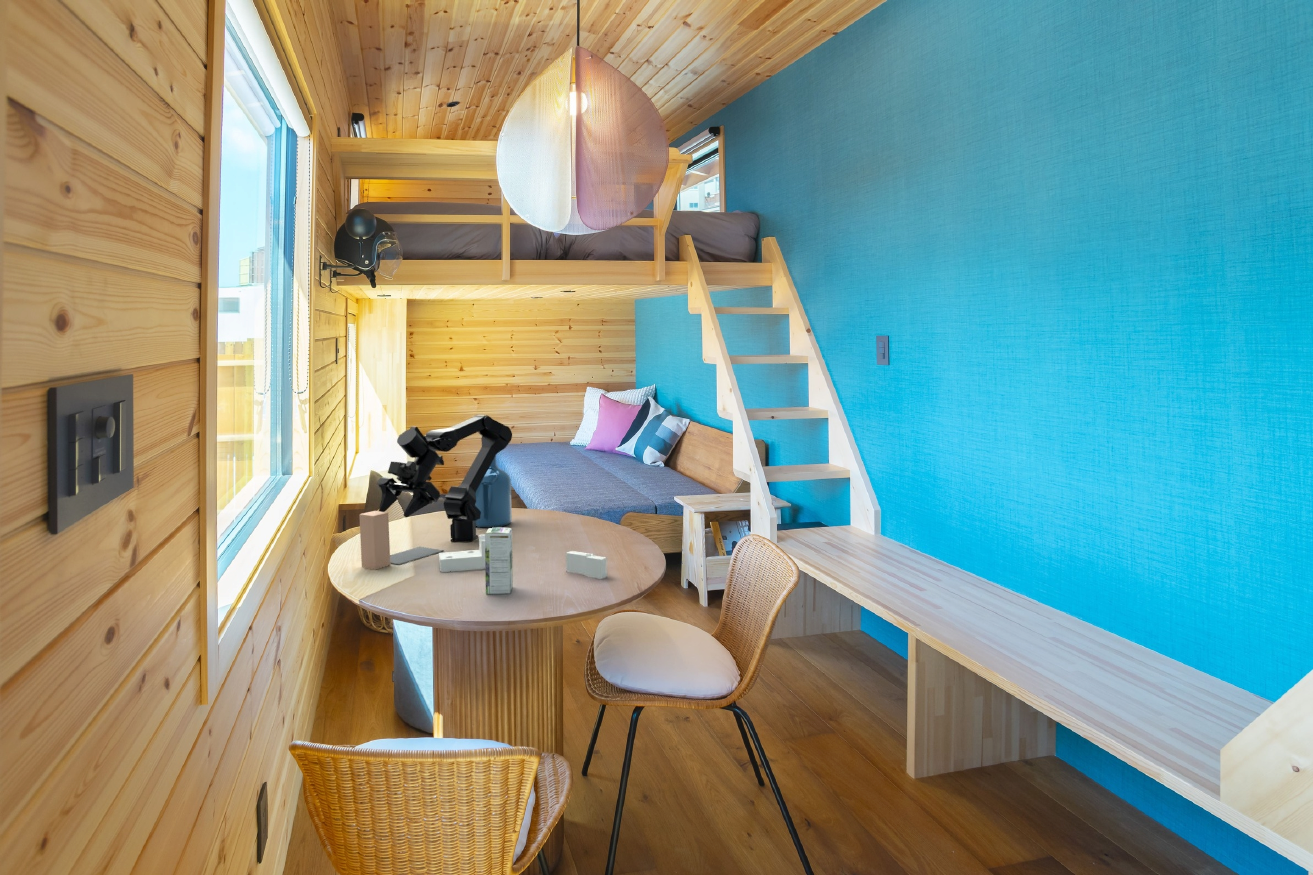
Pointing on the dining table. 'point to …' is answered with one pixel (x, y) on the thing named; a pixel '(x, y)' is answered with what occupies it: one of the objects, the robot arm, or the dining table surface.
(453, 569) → the bracket
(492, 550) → the syrup box
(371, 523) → the terracotta block
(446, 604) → the dining table surface
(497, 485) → the blue bottle
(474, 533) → the robot arm
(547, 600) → the dining table surface
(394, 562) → the mat
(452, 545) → the dining table surface
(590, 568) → the white stepped block
